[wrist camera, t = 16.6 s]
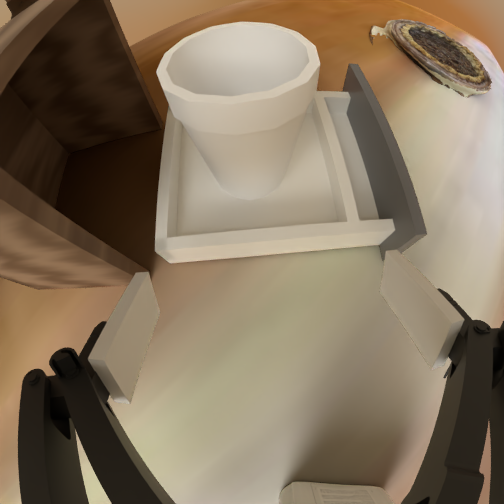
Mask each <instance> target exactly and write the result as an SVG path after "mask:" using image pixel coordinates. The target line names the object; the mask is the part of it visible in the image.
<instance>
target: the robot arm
mask: <svg viewBox="0 0 504 504" xmlns="http://www.w3.org/2000/svg"><path fill="white" fill-rule="evenodd" d="M379 292H380V294H381V295H382V296H383V298H384V299H385V301H386V302H387V303H388V305H389V306H390V308H391V309H392V310H393V312H394V313H395V315H396V316H397V318H398V319H399V321H400V322H401V324H402V325H403V327H404V328H405V330H406V331H407V333H408V334H409V336H410V337H411V339H412V340H413V342H414V343H415V345H416V346H417V348H418V350H419V351H420V353H421V354H422V356H423V357H424V359H425V361H426V362H427V364H428V365H429V367H430V369H431V370H433V369H436V368H439V367H441V366H444V364H445V362H446V360H447V358H448V356H449V358H450V359H451V361H452V362H451V364H450V366H449V368H448V370H447V372H446V373H445V375H444V377H443V378H446V376H447V375H448V376H447V381H446V385H445V390H444V394H443V398H442V403H441V406H440V410H439V414H438V417H437V421H436V424H435V428H434V431H433V434H432V437H431V440H430V443H429V446H428V449H427V452H426V454H425V457H424V460H423V462H422V465H421V467H420V470H419V472H418V475H417V477H416V479H415V482H414V484H413V486H412V488H411V490H410V492H409V493H408V495H407V496H406V497H405V498H404V500H403V501H402V503H401V504H477V503H478V500H479V497H480V493H481V490H482V487H483V482H484V475H483V474H481V473H480V472H479V468H480V463H481V459H482V455H483V450H484V445H485V440H486V434H487V428H488V421H490V422H489V423H490V438H491V480H490V481H491V482H490V497H489V504H504V321H503V323H502V325H501V327H500V328H493V329H491V328H490V326H489V325H488V324H487V323H485V322H483V321H481V320H472V319H471V318H470V317H469V316H468V315H467V313H466V312H465V311H464V310H463V309H462V308H461V307H460V306H459V305H458V304H457V303H456V302H455V301H454V300H453V298H452V297H451V296H450V295H449V294H448V293H446V292H445V291H443V290H441V289H440V288H439V289H436V288H435V287H434V286H433V285H432V283H431V282H430V281H429V280H428V279H427V278H426V277H425V276H424V275H423V274H422V273H421V272H420V271H419V270H418V269H417V268H416V267H415V266H414V265H413V264H411V263H410V262H409V261H408V260H407V259H406V258H405V257H404V256H403V255H402V254H401V253H400V252H399V251H398V250H389V251H386V253H385V260H384V267H383V274H382V280H381V286H380V291H379ZM159 315H160V310H159V306H158V303H157V300H156V296H155V293H154V290H153V286H152V283H151V279H150V275H149V272H138V273H135V275H134V277H133V278H132V280H131V282H130V283H129V285H128V287H127V288H126V290H125V292H124V293H123V295H122V297H121V298H120V300H119V302H118V304H117V305H116V307H115V309H114V311H113V312H112V314H111V316H110V318H109V320H108V321H107V322H106V321H102V322H101V323H100V324H98V325H97V326H96V327H95V328H94V330H93V332H92V333H91V335H90V337H89V339H88V340H87V343H86V344H85V346H84V348H83V349H82V351H81V353H80V355H79V357H78V355H77V353H76V352H75V350H74V349H72V348H62V349H60V350H58V351H56V352H55V353H54V354H53V355H52V356H51V358H50V361H49V365H50V366H51V368H52V370H53V371H54V372H55V374H56V375H54V376H46V374H45V373H44V371H43V370H41V369H34V370H31V371H30V372H28V373H27V374H26V376H25V377H24V379H23V383H22V390H21V399H20V410H19V426H18V467H19V482H20V493H21V501H22V504H89V502H88V498H87V494H86V490H85V486H84V481H83V476H82V471H81V466H80V460H79V454H78V448H77V441H76V433H75V429H76V432H77V434H78V437H79V439H80V441H81V444H82V446H83V448H84V451H85V453H86V455H87V457H88V460H89V462H90V464H91V466H92V468H93V470H94V472H95V474H96V476H97V478H98V480H99V482H100V484H101V485H102V487H103V489H104V491H105V493H106V494H107V496H108V498H109V500H110V501H111V503H112V504H175V502H174V501H173V500H172V499H171V498H170V496H169V495H168V494H167V493H166V491H165V490H164V489H163V487H162V486H161V485H160V483H159V482H158V481H157V479H156V478H155V477H154V475H153V474H152V473H151V471H150V470H149V468H148V467H147V466H146V464H145V463H144V461H143V460H142V458H141V457H140V455H139V454H138V452H137V451H136V449H135V447H134V446H133V444H132V443H131V441H130V439H129V438H128V436H127V435H126V433H125V431H124V429H123V428H122V426H121V424H120V423H119V421H118V419H117V417H116V415H115V414H114V412H113V410H112V408H111V406H110V404H109V403H108V402H107V400H108V398H109V395H110V396H111V397H112V398H113V400H114V401H115V402H118V403H127V404H130V403H131V400H132V396H133V393H134V390H135V386H136V383H137V380H138V377H139V374H140V370H141V367H142V364H143V361H144V358H145V355H146V352H147V349H148V346H149V343H150V340H151V337H152V335H153V332H154V329H155V326H156V323H157V320H158V318H159Z"/></svg>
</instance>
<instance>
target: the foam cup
mask: <svg viewBox="0 0 504 504" xmlns="http://www.w3.org/2000/svg"><path fill="white" fill-rule="evenodd" d="M319 70H320V61H319V57H318V53H317V50H316V46H315V45H314V44H312V43H311V42H310V41H309V40H307V39H306V38H305V37H303V36H302V35H301V34H299V33H298V32H296V31H293V30H290V29H287V28H284V27H281V26H278V25H274V24H270V23H257V22H236V23H229V24H223V25H218V26H212V27H209V28H206V29H204V30H201V31H199V32H196V33H194V34H192V35H189V36H187V37H185V38H183V39H182V40H181V41H179V42H178V43H177V44H176V45H174V46H173V47H172V48H171V49H169V50H168V51H167V52H166V53H165V54H164V56H163V58H162V60H161V62H160V64H159V66H158V69H157V71H156V73H157V76H158V78H159V81H160V83H161V86H162V89H163V91H164V94H165V96H166V99H167V101H168V103H169V106H170V108H171V111H172V113H173V115H174V118H176V119H178V120H180V121H181V123H182V124H183V126H184V128H185V129H186V131H187V132H188V134H189V136H190V137H191V139H192V141H193V142H194V144H195V146H196V147H197V149H198V150H199V152H200V154H201V155H202V157H203V159H204V160H205V162H206V164H207V165H208V167H209V168H210V170H211V172H212V173H213V175H214V177H215V178H216V180H217V182H218V183H219V185H220V186H221V188H222V189H223V190H224V191H226V192H227V193H228V194H230V195H231V196H233V197H235V198H240V199H245V200H254V199H259V198H264V197H266V196H268V195H269V194H270V193H272V192H273V191H275V190H276V189H278V187H279V185H280V183H281V181H282V180H283V178H284V175H285V173H286V170H287V167H288V164H289V161H290V158H291V155H292V152H293V149H294V147H295V144H296V141H297V138H298V135H299V132H300V129H301V126H302V123H303V120H304V117H305V114H306V111H307V108H308V105H309V103H310V102H311V100H312V99H313V97H314V95H315V94H316V90H317V83H318V77H319Z"/></svg>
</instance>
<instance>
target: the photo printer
mask: <svg viewBox="0 0 504 504" xmlns="http://www.w3.org/2000/svg"><path fill="white" fill-rule="evenodd" d="M279 504H395V503H394V501H393V500H392V499H391V497H390V496H389V495H388V494H387V492H386V491H385V490H384V489H383V488H381V487H376V486H361V485H340V484H326V483H314V482H292V483H291V484H290V485H288V486H286V487H285V488H284V489H283V490H282V492H281V494H280V496H279Z"/></svg>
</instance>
